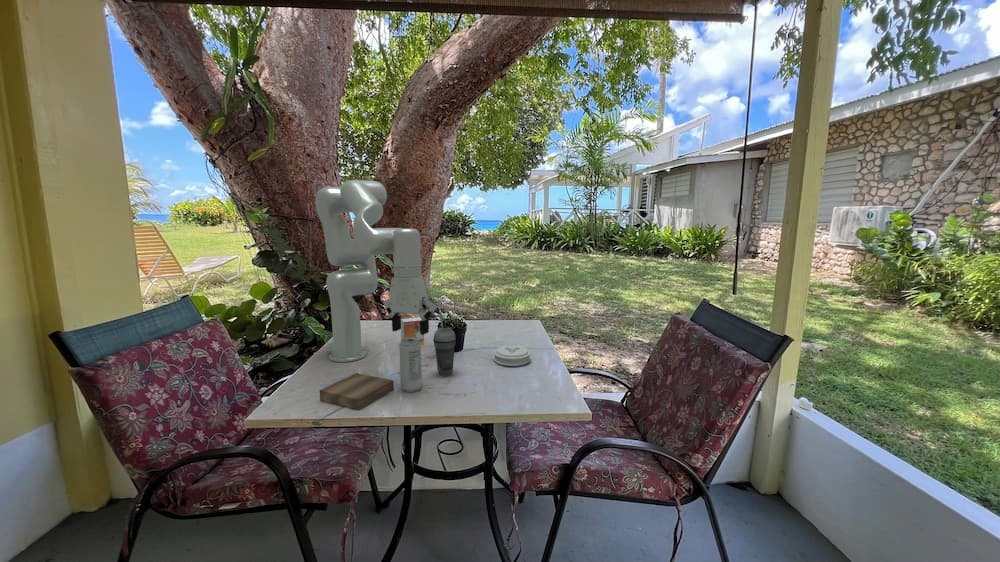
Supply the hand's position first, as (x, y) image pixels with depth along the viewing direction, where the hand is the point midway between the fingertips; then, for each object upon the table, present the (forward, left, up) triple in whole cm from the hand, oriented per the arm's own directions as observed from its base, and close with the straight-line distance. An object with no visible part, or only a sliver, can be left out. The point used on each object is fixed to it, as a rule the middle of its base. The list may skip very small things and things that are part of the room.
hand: (410, 331), depth 119 cm
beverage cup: (+3, +14, -18) cm, 23 cm away
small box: (-25, +35, -18) cm, 47 cm away
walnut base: (-11, -10, -17) cm, 23 cm away
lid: (+18, +34, -18) cm, 42 cm away
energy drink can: (0, 0, -18) cm, 18 cm away
